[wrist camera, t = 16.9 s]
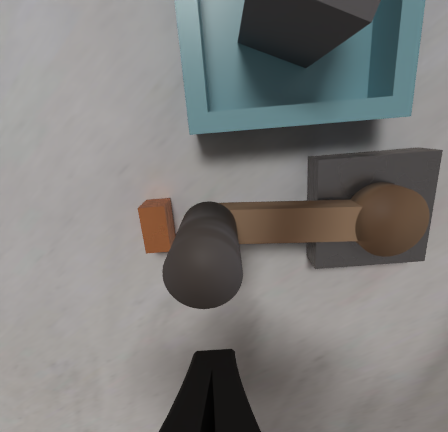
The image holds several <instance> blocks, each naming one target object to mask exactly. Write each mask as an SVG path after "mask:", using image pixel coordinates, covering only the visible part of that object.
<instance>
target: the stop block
mask: <svg viewBox="0 0 448 432" xmlns="http://www.w3.org/2000/svg"><path fill="white" fill-rule="evenodd" d="M380 1H381V0H245V1H244V7H243V13H242V19H241V24H240V30H239V36H238V42H237V43H240V44H242V45H245V46H248V47H250V48H253V49H256V50H258V51H261V52H264V53H266V54H269V55H272V56H274V57H277V58H280V59H282V60H285V61H288V62H290V63H293V64H295V65H298V66H301V67H303V68H307V67H309V66H310V65H312V64H313V63H314V62H316V61H317V60H319V59H320V58H322V57H323V56H324V55H326V54H327V53H329V52H330V51H332V50H333V49H334V48H336V47H337V46H339V45H340V44H342V43H343V42H344V41H346V40H347V39H349V38H350V37H352V36H353V35H354V34H356V33H357V32H359V31H360V30H362V29H363V28H364V27H366V26H367V25H369V24H370V23H372V20H373V18H374V16H375V13H376V11H377V8H378V6H379V4H380Z"/></svg>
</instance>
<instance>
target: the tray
mask: <svg viewBox="0 0 448 432" xmlns="http://www.w3.org/2000/svg"><path fill="white" fill-rule="evenodd" d="M244 1H245V0H174V2H175V10H176V19H177V28H178V37H179V45H180V54H181V63H182V72H183V80H184V89H185V98H186V107H187V116H188V124H189V133H190V135H193V134H204V133H216V132H228V131H240V130H252V129H264V128H276V127H288V126H300V125H312V124H324V123H336V122H348V121H360V120H372V119H384V118H396V117H408V116H411V112H412V104H413V96H414V88H415V80H416V72H417V64H418V56H419V48H420V40H421V31H422V23H423V15H424V7H425V0H381V1H380V4H379V6H378V8H377V11H376V13H375V16H374V18H373V20H372V23H370V24H369V25H367V26H366V27H364V28H363V29H362V30H360V31H359V32H357V33H356V34H354V35H353V36H352V37H350V38H349V39H347V40H346V41H344V42H343V43H342V44H340V45H339V46H337V47H336V48H334V49H333V50H332V51H330V52H329V53H327V54H326V55H324V56H323V57H322V58H320V59H319V60H317V61H316V62H314V63H313V64H312V65H310V66H309V67H307V68H303V67H301V66H298V65H295V64H293V63H290V62H288V61H285V60H282V59H280V58H277V57H274V56H272V55H269V54H266V53H264V52H261V51H258V50H256V49H253V48H250V47H248V46H245V45H242V44H240V43H237V42H238V36H239V30H240V24H241V19H242V13H243V7H244Z"/></svg>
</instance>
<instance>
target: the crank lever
mask: <svg viewBox="0 0 448 432" xmlns="http://www.w3.org/2000/svg"><path fill="white" fill-rule="evenodd" d="M428 224H429V208H428V205H427V203H426V201H425V200H424V198H423V197H422V196H421V195H420V194H418V193H417V192H415V191H413V190H411V189H408V188H405V187H402V186H399V185H396V184H393V183H388V182H378V183H373V184H370V185H368V186H366V187H364V188H362V189H361V190H359V191H358V192H357V193H356V194H355V195H354V196H353V197H352V198H351V199H350V200H316V201H275V202H235V203H216V202H201V203H198V204H196V205H194V206H193V207H191V208H190V209H189V210H188V211H187V212H186V214H185V216H184V218H183V220H182V222H181V225H180V227H179V229H178V232H177V234H176V236H175V239H174V241H173V243H172V246H171V248H170V250H169V252H168V255H167V257H166V259H165V262H164V265H163V281H164V284H165V286H166V288H167V290H168V291H169V293H170V294H171V295H172V296H173V297H174V298H175V299H176V300H177V301H179V302H180V303H182V304H184V305H186V306H189V307H192V308H198V309H210V308H215V307H218V306H221V305H223V304H225V303H226V302H228V301H229V300H230V299H232V298H233V297H234V296H235V294H236V293H237V292H238V290H239V288H240V286H241V283H242V279H243V270H242V262H241V255H240V248H239V244H262V243H304V242H345V241H355V242H356V243H358V244H359V245H360V246H361V247H362V248H363V249H365V250H366V251H367V252H369V253H371V254H373V255H376V256H382V257H388V256H395V255H398V254H401V253H403V252H405V251H407V250H409V249H410V248H412V247H413V246H414V245H415V244H417V243H418V242H419V240H420V239H421V238H422V237H423V235H424V233H425V232H426V229H427V227H428Z"/></svg>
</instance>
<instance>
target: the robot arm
mask: <svg viewBox="0 0 448 432" xmlns="http://www.w3.org/2000/svg"><path fill="white" fill-rule="evenodd" d="M159 432H261V431H260V429H259V426H258V424H257V422H256V419H255V417H254V415H253V412H252V410H251V407H250V404H249V402H248V399H247V397H246V394H245V391H244V388H243V385H242V382H241V379H240V376H239V372H238V368H237V364H236V359H235V351H233V350H232V349H222V350H207V351H196V352H195V353H194V355H193V358H192V361H191V364H190V366H189V369H188V372H187V374H186V377H185V379H184V381H183V384H182V386H181V388H180V390H179V393H178V395H177V397H176V399H175V401H174V403H173V405H172V407H171V409H170V411H169V413H168V415H167V417H166V419H165V421H164V423H163V425H162V427H161V429H160V430H159Z"/></svg>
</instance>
